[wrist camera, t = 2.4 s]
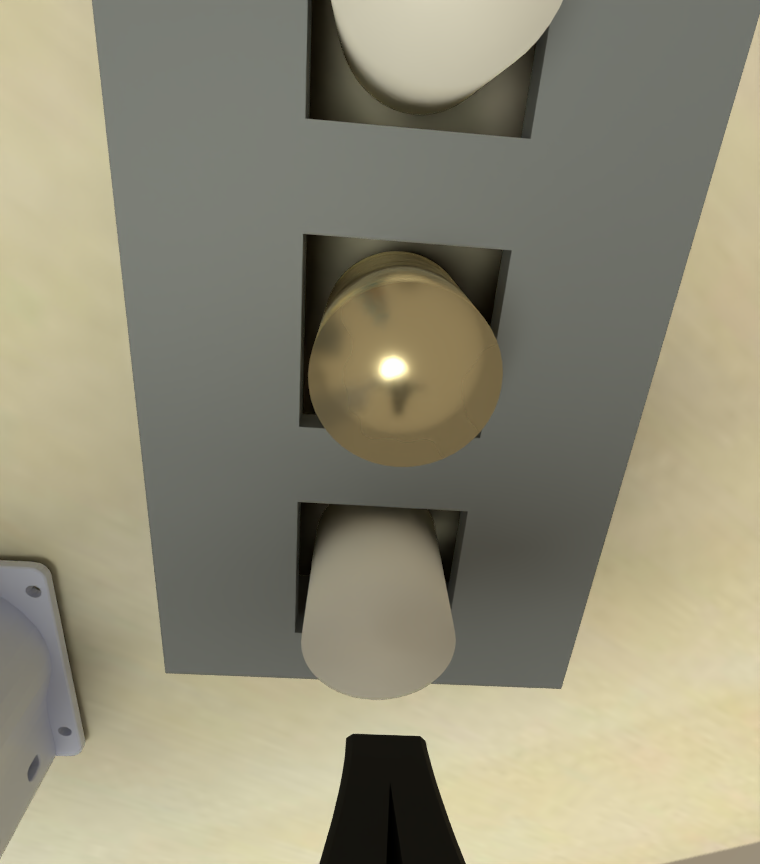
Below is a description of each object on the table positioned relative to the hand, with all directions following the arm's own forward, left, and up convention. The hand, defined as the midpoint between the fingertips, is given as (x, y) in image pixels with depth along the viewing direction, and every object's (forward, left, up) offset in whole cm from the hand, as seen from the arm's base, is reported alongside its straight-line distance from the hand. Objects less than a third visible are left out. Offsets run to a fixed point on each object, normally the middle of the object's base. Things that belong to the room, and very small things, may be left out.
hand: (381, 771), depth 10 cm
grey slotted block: (+6, 0, -9) cm, 11 cm away
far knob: (0, 0, -7) cm, 7 cm away
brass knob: (+6, 0, -7) cm, 10 cm away
